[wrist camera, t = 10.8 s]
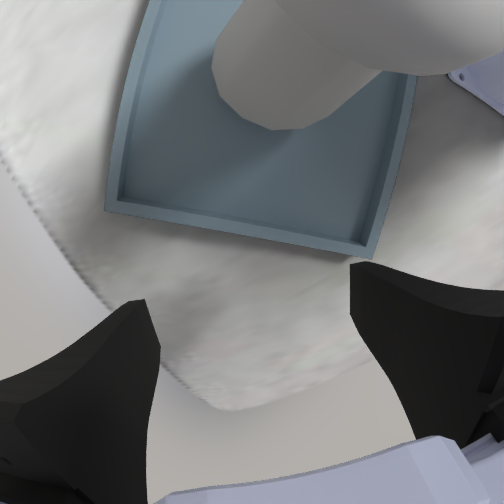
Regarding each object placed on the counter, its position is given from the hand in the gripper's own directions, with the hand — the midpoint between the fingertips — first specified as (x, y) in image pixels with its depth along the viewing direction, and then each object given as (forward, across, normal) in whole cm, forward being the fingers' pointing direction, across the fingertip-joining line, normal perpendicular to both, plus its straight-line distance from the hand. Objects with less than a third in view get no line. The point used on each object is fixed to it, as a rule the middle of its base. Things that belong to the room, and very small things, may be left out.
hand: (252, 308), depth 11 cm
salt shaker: (+6, -3, -8) cm, 11 cm away
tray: (+7, -3, -8) cm, 11 cm away
